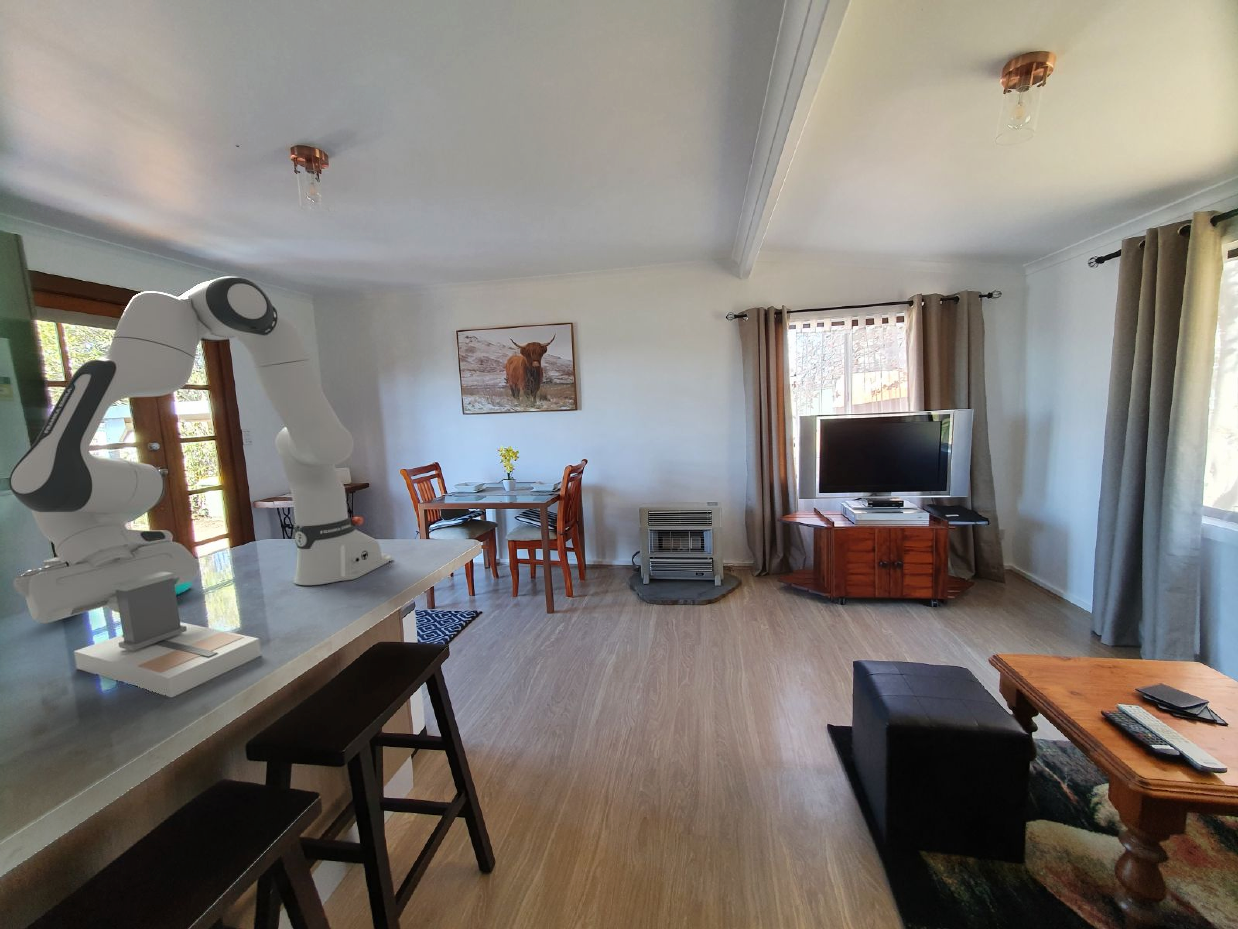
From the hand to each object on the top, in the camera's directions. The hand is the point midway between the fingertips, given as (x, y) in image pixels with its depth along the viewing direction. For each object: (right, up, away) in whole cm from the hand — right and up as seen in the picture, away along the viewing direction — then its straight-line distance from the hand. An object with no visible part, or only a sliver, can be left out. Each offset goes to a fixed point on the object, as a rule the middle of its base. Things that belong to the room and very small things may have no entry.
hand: (143, 615), depth 77 cm
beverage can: (-38, -7, +21) cm, 44 cm away
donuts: (-26, -5, +30) cm, 40 cm away
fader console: (+6, -7, -1) cm, 9 cm away
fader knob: (+2, -4, 0) cm, 4 cm away
